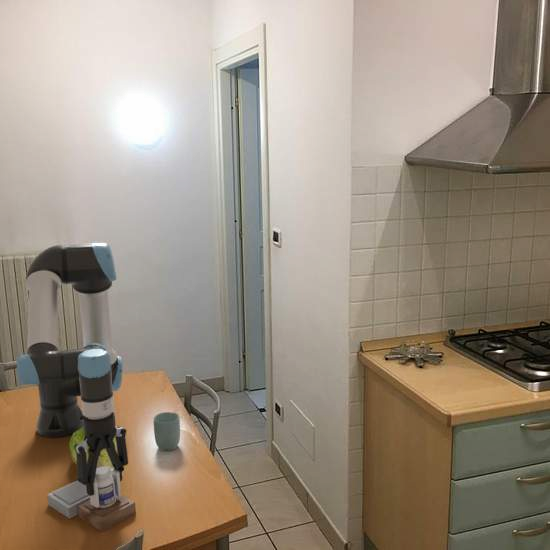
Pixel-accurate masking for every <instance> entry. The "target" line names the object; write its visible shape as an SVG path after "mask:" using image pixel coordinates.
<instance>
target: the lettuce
mask: <svg viewBox="0 0 550 550" xmlns="http://www.w3.org/2000/svg"><path fill="white" fill-rule="evenodd" d="M84 437H85V431H84V426H83V427H82V428H81V429H79V430H78V431H76V432H74V433H73V434H71V438H70V440H69V442H68V450H69V454H70V456H71V461H72V462H73V463H74V464H75V465H76V466H77V454H76V451H75V449H74V446H75V445H76V444H78V445H79V444H81V443H82V442H83V441H84ZM113 442H114V445H115V449H116V452H117V444H116V436H115V437H114V439H113ZM88 448H89V446H88V445H87V447H86V450H87V451H86V456H87V461H88V455H89V454H88ZM117 453H118V452H117ZM104 466H106V467H109V468H110V471H111V469H114V467H113V465H112V463H111V460H110V458H109V456H108V453H107V451H106V449H103V450H102V451H101V453H100V456H99V457H98V463H97V468H99V467H104Z"/></svg>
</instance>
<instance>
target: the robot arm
mask: <svg viewBox="0 0 550 550" xmlns="http://www.w3.org/2000/svg"><path fill="white" fill-rule="evenodd" d="M116 280H117V272H116V268H115V261H114V257H113V252H112V249H111V246H110V245H109V244H108V243H106V242H92V243H73V244H59V245H58V244H57V245H53V246H50V247H48V248H46V249H44V250H43V251H41V252H40V253H39V254H38V255H37V256H36V257H35V258H34V260H32V262H31V263H30V264H29V267H28V269H27V272H26V275H25V288H26V290H28V293H29V294H28V311H27V312H28V317H27V341H26V342H27V344H26V345H27V346H26V353H25V354H20V355H18V357H17V359H16V373H17V374H16V375H17V379H18V382H19V383H20V384H22V386H23V385H24V386H27V385H37V386H38V396H39V397H38V398H39V405H40V406H39V407H40V409H39V412H38V413H39V414H38V418H37V421H36V422H37V423H36V432H37V434H38V435H40V436H41V437H44V438H62V437H66V436H70V435H71V436H72V435H73V433H74V432H76V431H78V430H79V429H81V428H82V427H83V426H84V431H85V437H84V441H83V442H82V443H81V444H79V445H78V444H76V445H75V446H74V449H75V451H76V454H77V465H76V467H77V468H76V471H77V473H76V474H77V480H78V482H80V483H82V484H83V485H86V490H87V494H88V495H90V503H91V505H93V506H95V507H96V508H98V507H100V506H99V495H98V484H97V482H96V481H94V480H95V474H96V469H97V463H98V457H99V456H100V453H101V451H102V450H103V449H106V451H107V453H108V456H109V458H110V460H111V463H112V465H113V467H114V469H111V475H112V476H113V477H114V483H115V493H116V495H117V496H121V495H122V488H121V487H122V486H121V482H122V481H123V472H124V471H125V466H128V464H129V457H128V449H127V448H128V447H127V443H126V442H127V441H126V435H127V429H126V428H124V427H122V426H117V425H116V413H115V403H114V402H115V401H114V392H118V391H119V390H120V389H121V387H122V384H123V357H122V356H120V355H118V353H117V351H116V350H115V349H113V347H112V332H111V319H110V307H109V305H110V304H109V294H108V293H109V291H108V290H110V289H111V288H112V286H113V282H114V281H116ZM62 285H72V288H73V291H75V292H76V293H77V294H78V299H79V310H80V319H81V329H82V340H83V348H76V349H75V348H73V349H67V350H59V291H60V289H61V287H62ZM78 397H80V402H81V407H80V404H79V402H78ZM116 426H117V427H116ZM114 437H115V438H116V444H117V452H116V449H115V445H114V442H113V439H114ZM87 445H88V446H89V448H88V454H89V455H88V461H87V456H86V451H87V450H86V447H87Z"/></svg>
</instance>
